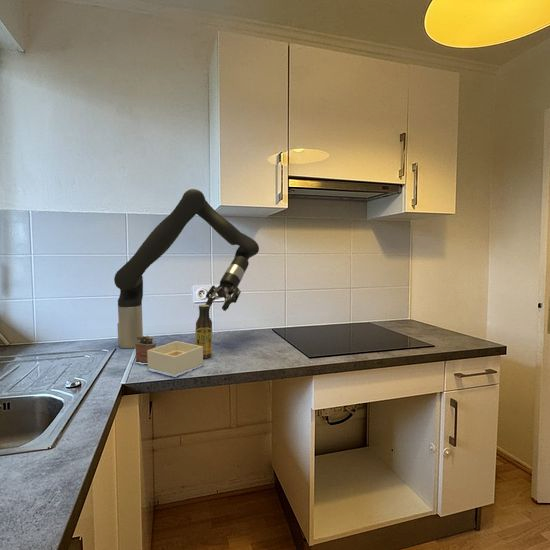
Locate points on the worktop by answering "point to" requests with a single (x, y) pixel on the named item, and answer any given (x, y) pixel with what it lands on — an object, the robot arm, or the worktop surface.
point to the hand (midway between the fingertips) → (215, 308)
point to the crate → (175, 357)
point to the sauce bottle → (204, 331)
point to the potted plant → (143, 348)
